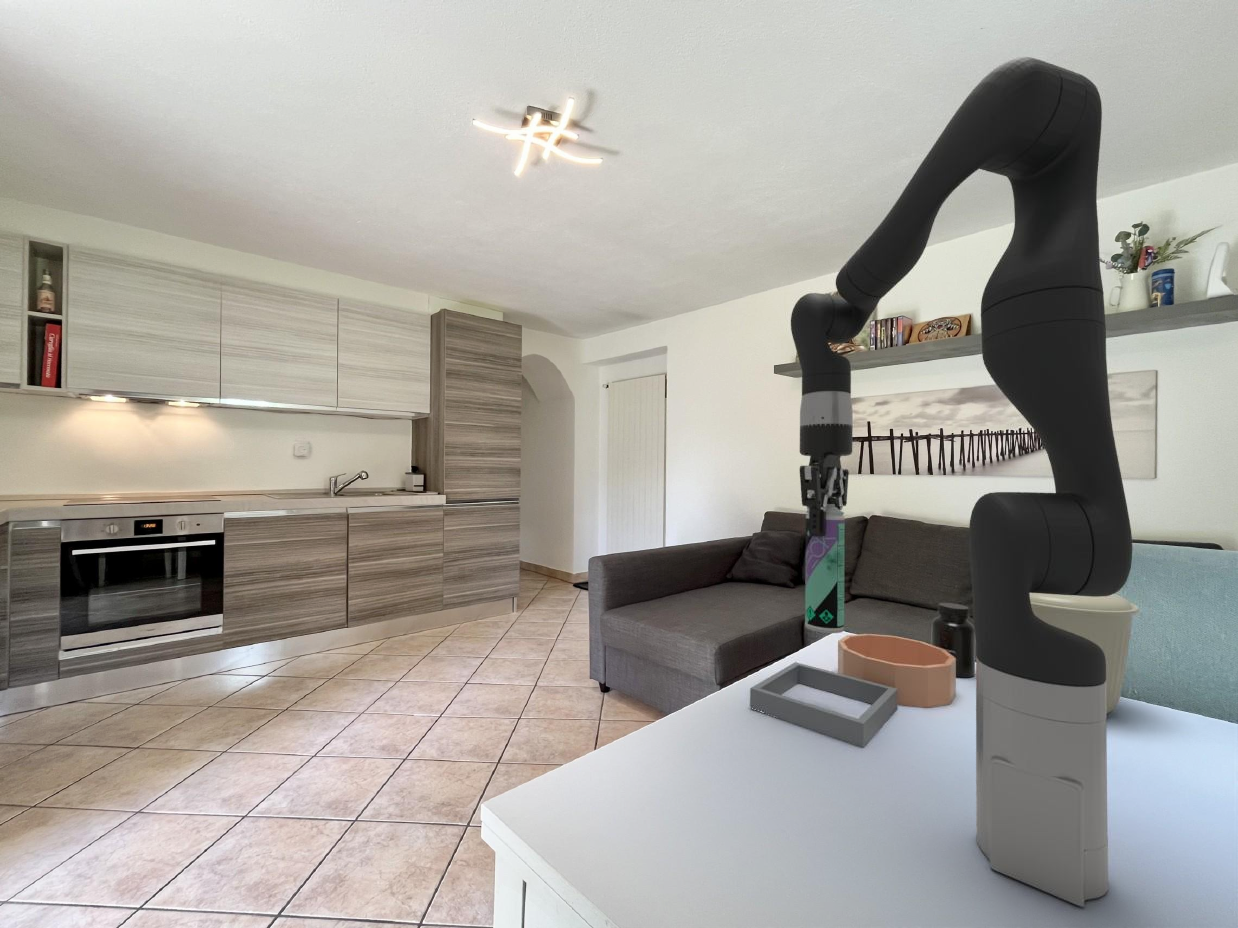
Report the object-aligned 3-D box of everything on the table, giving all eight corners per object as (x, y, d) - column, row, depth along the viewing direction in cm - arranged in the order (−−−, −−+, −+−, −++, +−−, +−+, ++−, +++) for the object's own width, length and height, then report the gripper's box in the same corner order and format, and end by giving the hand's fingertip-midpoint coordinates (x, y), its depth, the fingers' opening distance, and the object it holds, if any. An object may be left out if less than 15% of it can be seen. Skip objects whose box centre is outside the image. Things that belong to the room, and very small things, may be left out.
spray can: (812, 621, 82) (812, 494, 82) (848, 627, 78) (849, 495, 79) (799, 628, 77) (800, 494, 78) (837, 635, 74) (838, 495, 75)
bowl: (941, 717, 75) (941, 675, 76) (824, 684, 87) (824, 648, 87) (962, 684, 88) (962, 649, 88) (857, 660, 99) (858, 628, 100)
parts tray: (863, 747, 66) (863, 723, 66) (750, 708, 77) (750, 688, 77) (897, 708, 78) (897, 688, 78) (795, 679, 89) (795, 661, 89)
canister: (988, 671, 95) (988, 556, 95) (1124, 696, 84) (1122, 567, 85) (991, 705, 80) (991, 569, 80) (1157, 741, 70) (1154, 584, 70)
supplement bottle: (937, 675, 92) (937, 607, 93) (926, 663, 99) (926, 599, 99) (981, 680, 90) (981, 611, 91) (967, 667, 97) (967, 603, 97)
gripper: (833, 417, 71) (833, 540, 70) (866, 427, 82) (866, 534, 81) (781, 421, 76) (780, 535, 75) (819, 430, 87) (818, 531, 86)
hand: (825, 534), depth 78 cm, fingers closed on spray can, 5 cm apart
